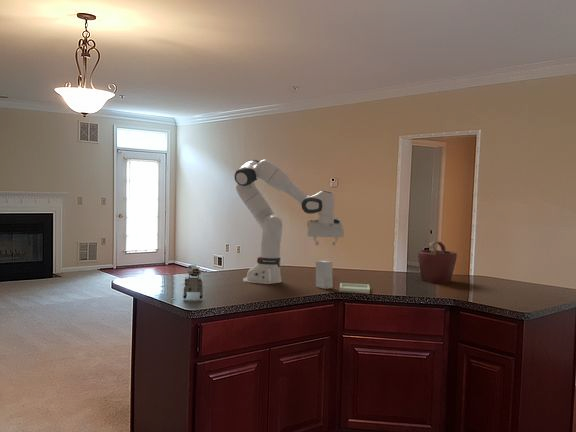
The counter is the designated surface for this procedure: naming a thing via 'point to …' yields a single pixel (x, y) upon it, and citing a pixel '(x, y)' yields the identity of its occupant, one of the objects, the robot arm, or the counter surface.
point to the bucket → (436, 264)
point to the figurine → (193, 281)
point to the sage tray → (354, 288)
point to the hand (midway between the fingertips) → (325, 245)
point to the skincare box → (324, 274)
